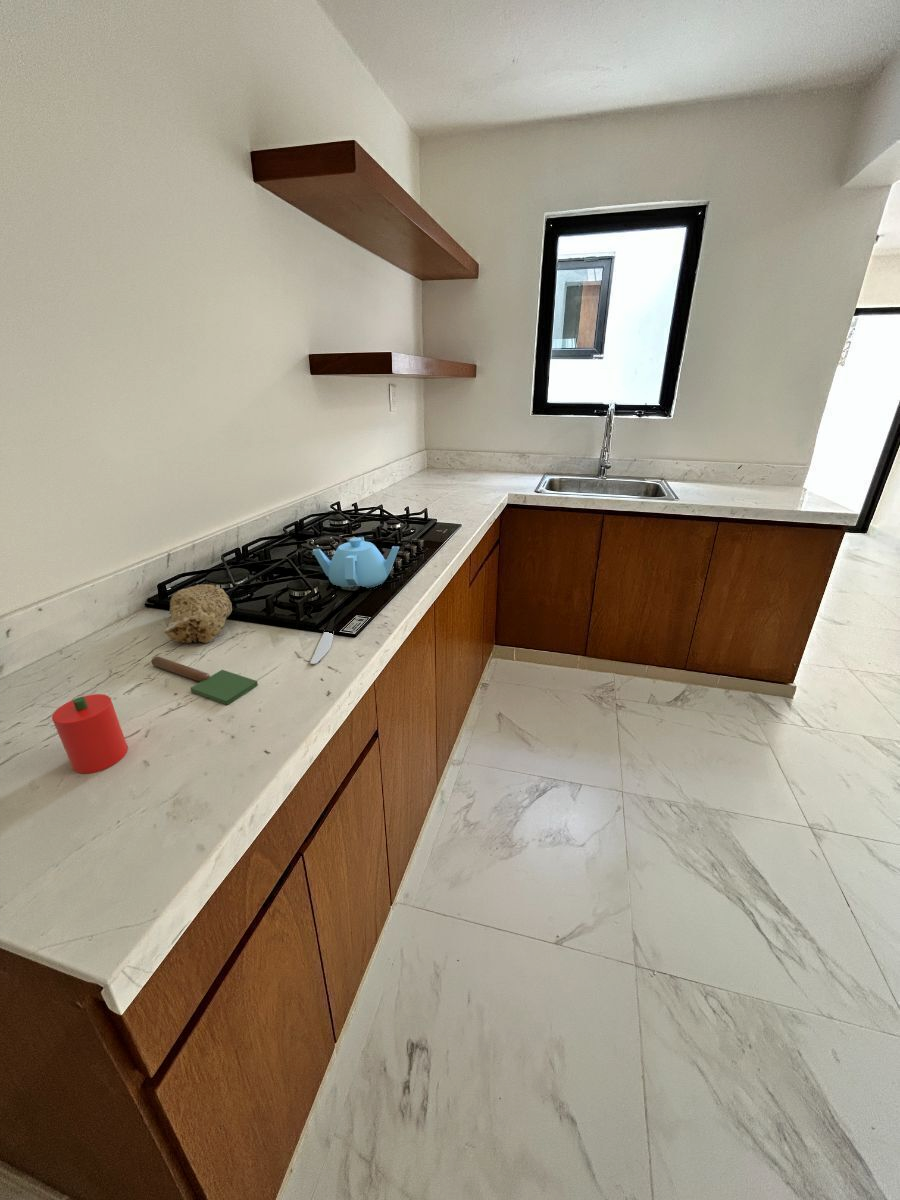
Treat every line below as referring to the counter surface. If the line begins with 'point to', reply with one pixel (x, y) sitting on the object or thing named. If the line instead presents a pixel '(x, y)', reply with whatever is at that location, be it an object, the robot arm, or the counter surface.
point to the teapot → (357, 564)
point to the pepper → (90, 733)
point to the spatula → (211, 681)
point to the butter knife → (322, 647)
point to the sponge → (198, 613)
